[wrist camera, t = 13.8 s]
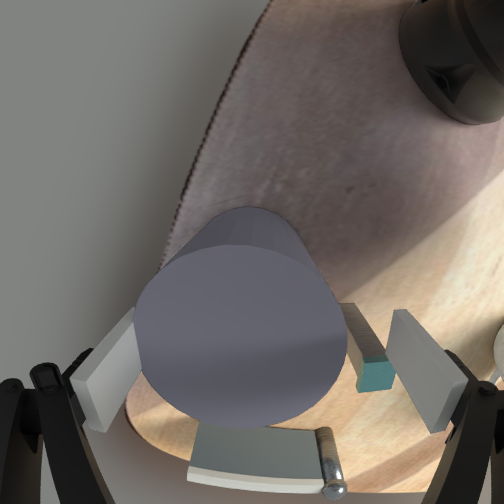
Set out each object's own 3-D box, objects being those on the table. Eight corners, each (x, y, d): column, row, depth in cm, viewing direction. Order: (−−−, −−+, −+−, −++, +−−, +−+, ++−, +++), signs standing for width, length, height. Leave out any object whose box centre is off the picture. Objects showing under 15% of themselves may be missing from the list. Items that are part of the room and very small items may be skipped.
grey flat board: (314, 430, 33) (324, 485, 24) (310, 438, 33) (318, 493, 25) (200, 416, 33) (187, 472, 24) (199, 425, 33) (187, 480, 24)
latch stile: (332, 300, 29) (365, 363, 18) (357, 300, 29) (399, 360, 18) (329, 324, 30) (358, 393, 19) (354, 323, 29) (391, 388, 19)
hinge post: (313, 426, 33) (325, 494, 23) (335, 424, 33) (352, 490, 23) (311, 440, 34) (321, 505, 24) (332, 438, 34) (346, 502, 23)
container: (187, 211, 27) (111, 252, 13) (303, 203, 27) (351, 237, 12) (200, 316, 30) (157, 425, 15) (306, 311, 29) (339, 421, 15)
